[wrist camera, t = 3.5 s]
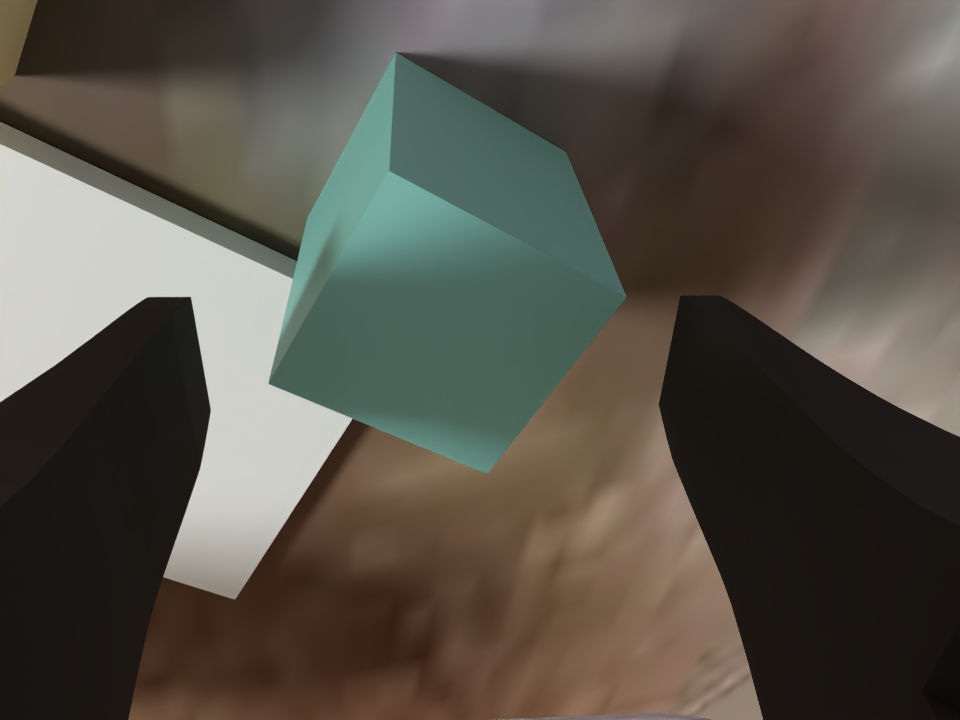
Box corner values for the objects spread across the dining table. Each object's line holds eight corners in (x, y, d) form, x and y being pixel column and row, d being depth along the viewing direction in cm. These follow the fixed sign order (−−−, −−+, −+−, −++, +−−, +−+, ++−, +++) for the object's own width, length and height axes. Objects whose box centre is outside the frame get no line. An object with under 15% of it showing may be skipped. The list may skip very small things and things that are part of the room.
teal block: (566, 152, 18) (626, 297, 13) (467, 297, 19) (487, 473, 14) (395, 52, 16) (389, 170, 11) (306, 218, 18) (268, 384, 13)
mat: (408, 313, 19) (408, 332, 19) (239, 577, 24) (235, 599, 23) (-56, 95, 16) (-76, 109, 15) (-151, 451, 21) (-169, 473, 20)
